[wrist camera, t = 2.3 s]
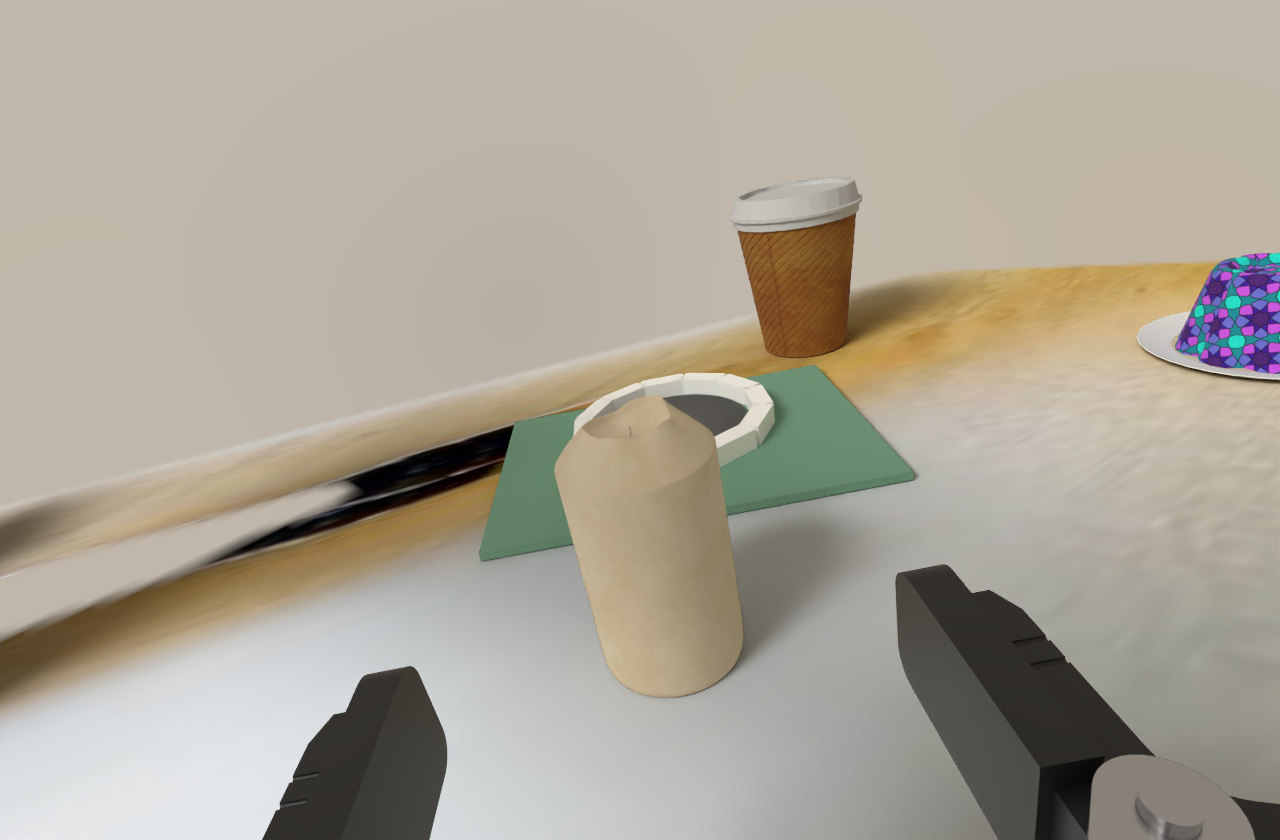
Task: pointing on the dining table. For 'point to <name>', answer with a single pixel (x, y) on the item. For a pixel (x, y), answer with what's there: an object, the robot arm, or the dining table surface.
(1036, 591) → the dining table surface
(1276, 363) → the pudding
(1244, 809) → the robot arm
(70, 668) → the dining table surface
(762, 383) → the putting green
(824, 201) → the disposable coffee cup
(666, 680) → the candle
